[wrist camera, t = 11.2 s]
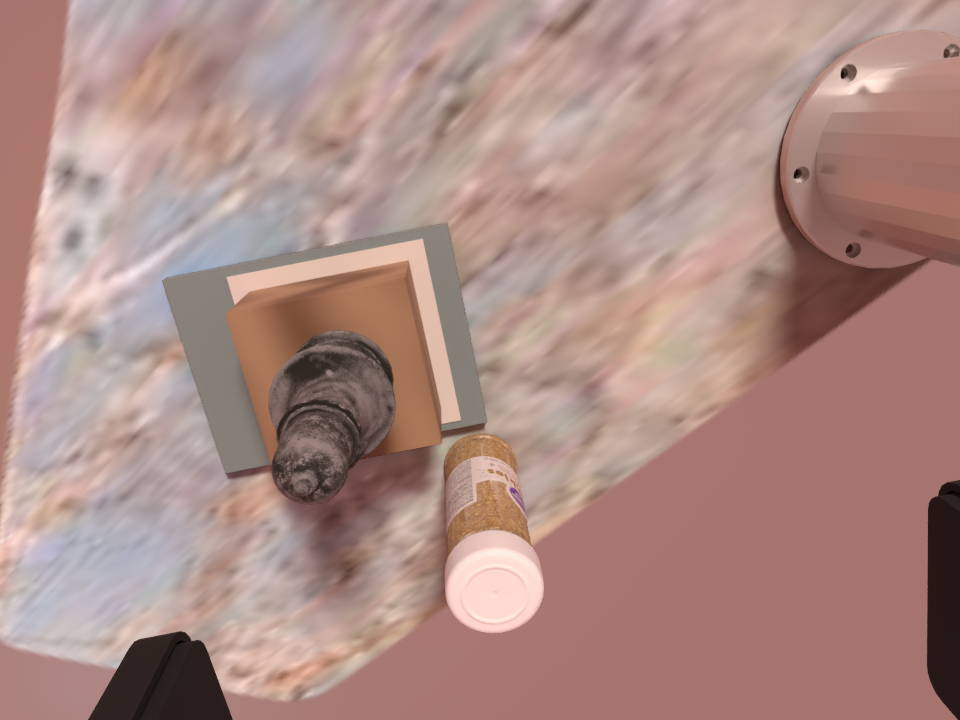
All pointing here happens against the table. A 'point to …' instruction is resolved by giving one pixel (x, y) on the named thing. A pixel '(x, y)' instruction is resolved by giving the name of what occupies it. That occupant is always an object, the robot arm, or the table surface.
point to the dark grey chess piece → (328, 413)
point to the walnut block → (348, 307)
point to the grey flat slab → (219, 289)
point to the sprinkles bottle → (488, 538)
